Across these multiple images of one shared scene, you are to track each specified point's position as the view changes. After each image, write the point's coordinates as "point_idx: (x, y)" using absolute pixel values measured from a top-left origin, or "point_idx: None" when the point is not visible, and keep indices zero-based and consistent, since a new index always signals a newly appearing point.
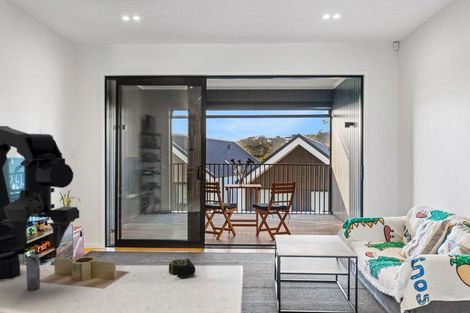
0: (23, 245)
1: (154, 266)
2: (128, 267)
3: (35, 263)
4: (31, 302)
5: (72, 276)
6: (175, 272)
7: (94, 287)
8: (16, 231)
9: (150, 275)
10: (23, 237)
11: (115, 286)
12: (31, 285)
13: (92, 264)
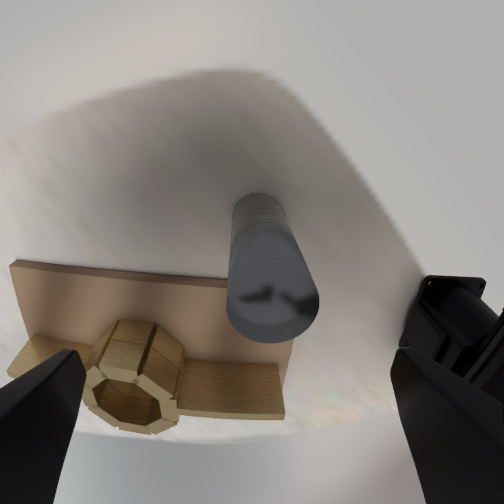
0: (394, 375)
1: None
2: (104, 426)
3: (232, 267)
4: (193, 128)
5: (157, 334)
6: None
7: (35, 269)
8: (500, 440)
9: None
10: (420, 430)
11: None
12: (249, 206)
13: None
